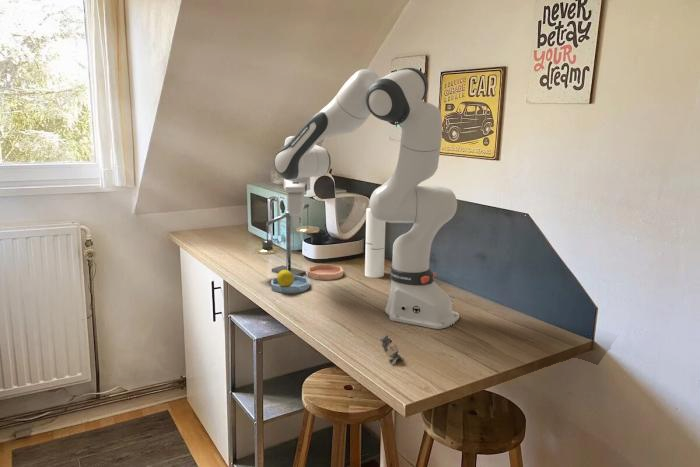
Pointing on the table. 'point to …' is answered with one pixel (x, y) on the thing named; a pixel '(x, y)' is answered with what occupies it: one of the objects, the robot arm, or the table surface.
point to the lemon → (285, 278)
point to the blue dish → (298, 285)
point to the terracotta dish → (325, 272)
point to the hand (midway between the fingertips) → (297, 225)
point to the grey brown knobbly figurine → (390, 349)
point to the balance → (270, 249)
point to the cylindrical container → (374, 246)
